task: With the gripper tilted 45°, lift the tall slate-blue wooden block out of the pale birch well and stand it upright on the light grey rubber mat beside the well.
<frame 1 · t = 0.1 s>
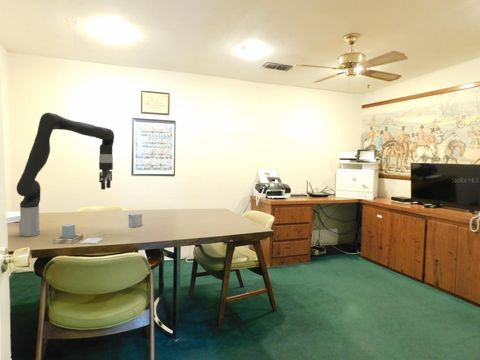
hand: (105, 188, 183), 29 cm above the table, tool pointing down, fingers open, 8 cm apart
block: (68, 233, 173), in the well board
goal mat: (92, 241, 174), on the table
well board: (68, 240, 173), on the table
medicine box: (135, 226, 210), on the table
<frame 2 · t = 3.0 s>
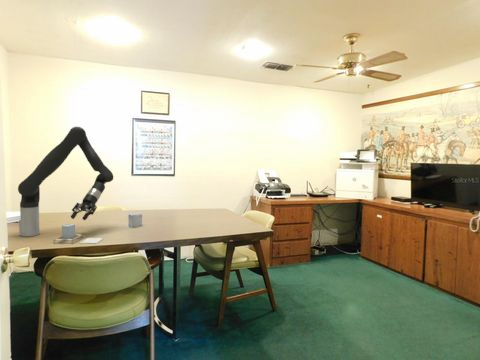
hand: (77, 218, 178), 11 cm above the table, tool tilted 45°, fingers open, 8 cm apart
nothing on the table moved.
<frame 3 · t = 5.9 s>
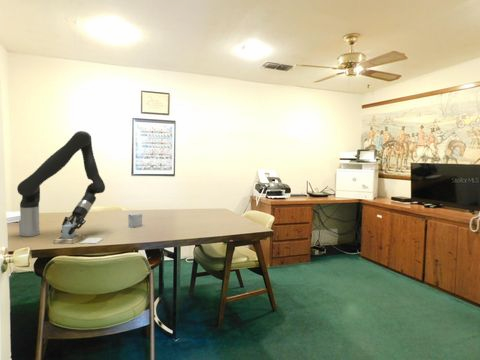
hand: (65, 233, 171), 5 cm above the table, tool tilted 45°, fingers closed on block, 4 cm apart
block: (68, 233, 173), in the well board, touching gripper
everything else where it was.
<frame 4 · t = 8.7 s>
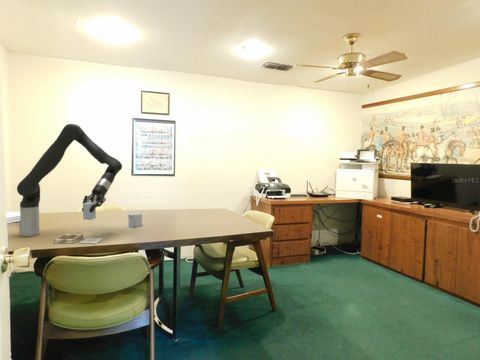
hand: (86, 211, 170), 18 cm above the table, tool tilted 45°, fingers closed on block, 4 cm apart
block: (89, 211, 172), point 17 cm above the table, touching gripper
everything else where it was.
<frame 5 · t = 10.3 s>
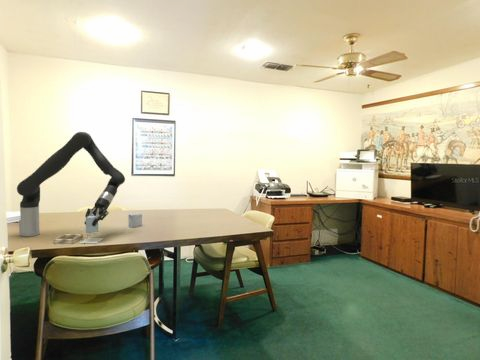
hand: (89, 224, 171), 10 cm above the table, tool tilted 45°, fingers closed on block, 4 cm apart
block: (92, 224, 173), point 10 cm above the table, touching gripper
everything else where it was.
when the fingers open (6 cm above the table, at t = 11.8 s): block drops 1 cm, resting on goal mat.
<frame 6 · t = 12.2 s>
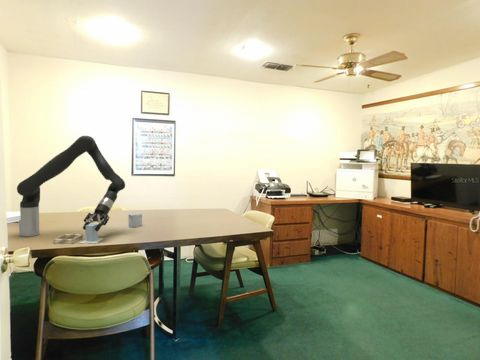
hand: (90, 229, 172), 7 cm above the table, tool tilted 45°, fingers open, 8 cm apart
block: (91, 232, 173), on the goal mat
everything else where it was.
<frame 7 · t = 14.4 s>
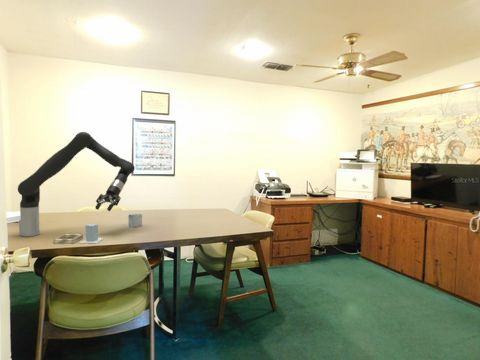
hand: (102, 209, 181), 17 cm above the table, tool tilted 45°, fingers open, 8 cm apart
nothing on the table moved.
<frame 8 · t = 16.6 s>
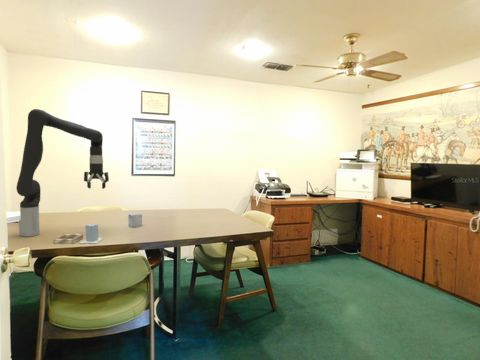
hand: (96, 188, 190), 28 cm above the table, tool pointing down, fingers open, 8 cm apart
nothing on the table moved.
at the end: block inside the target area on the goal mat (0.1 cm from its centre), point 4.9 cm above the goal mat's base; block tilted 0°; the gripper is holding nothing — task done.
